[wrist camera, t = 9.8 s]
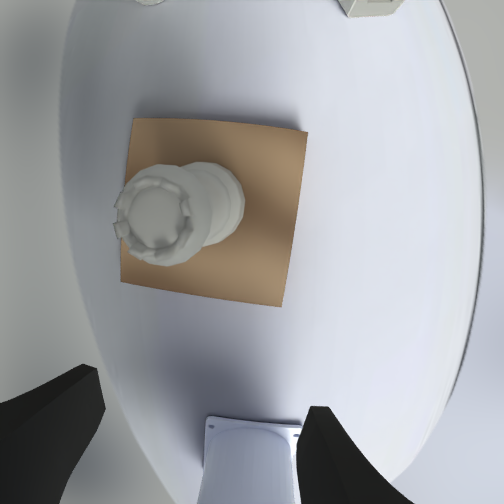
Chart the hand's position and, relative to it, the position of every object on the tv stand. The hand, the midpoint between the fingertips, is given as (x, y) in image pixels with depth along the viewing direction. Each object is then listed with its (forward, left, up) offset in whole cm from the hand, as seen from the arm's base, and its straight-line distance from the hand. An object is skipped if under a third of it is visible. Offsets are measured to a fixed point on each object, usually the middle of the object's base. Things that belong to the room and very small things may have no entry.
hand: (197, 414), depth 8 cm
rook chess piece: (+6, +2, -9) cm, 11 cm away
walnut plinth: (+6, +2, -10) cm, 12 cm away
